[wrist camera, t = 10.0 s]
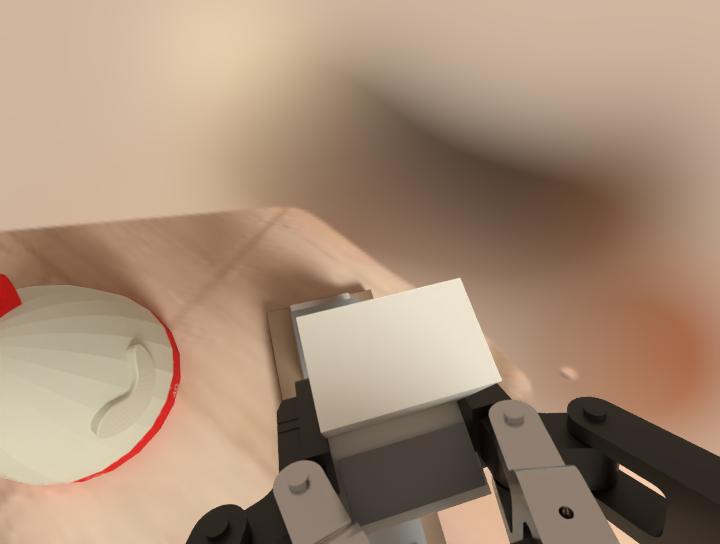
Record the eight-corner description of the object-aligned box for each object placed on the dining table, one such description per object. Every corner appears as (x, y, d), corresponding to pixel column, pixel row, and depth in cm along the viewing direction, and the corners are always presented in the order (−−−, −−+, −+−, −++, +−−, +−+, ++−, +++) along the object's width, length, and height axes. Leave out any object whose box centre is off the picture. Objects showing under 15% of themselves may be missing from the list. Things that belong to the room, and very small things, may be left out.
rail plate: (329, 652, 25) (329, 709, 20) (269, 318, 34) (257, 290, 29) (459, 603, 27) (494, 643, 21) (369, 295, 36) (376, 265, 30)
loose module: (345, 509, 16) (352, 580, 7) (318, 386, 18) (295, 317, 9) (437, 479, 17) (554, 509, 8) (401, 364, 19) (460, 278, 10)
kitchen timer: (-52, 459, 29) (-398, 461, 15) (51, 286, 34) (-132, 175, 21) (135, 502, 28) (-46, 545, 15) (206, 321, 34) (124, 231, 20)
